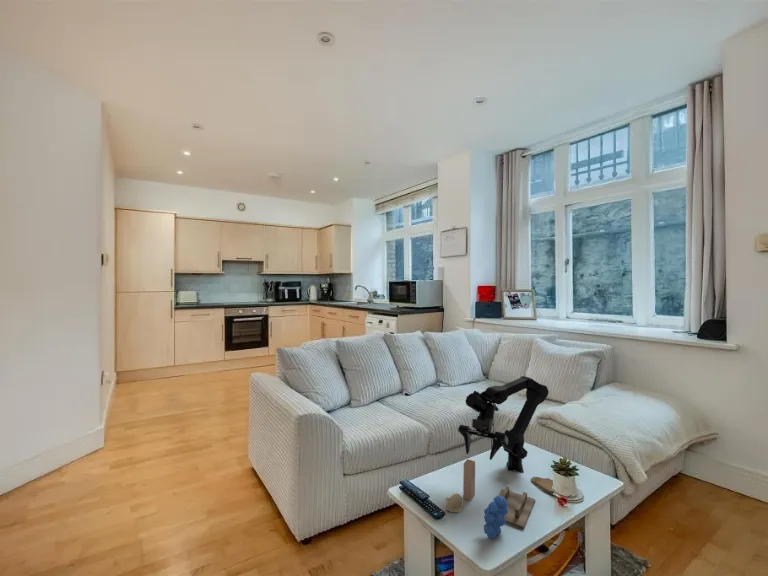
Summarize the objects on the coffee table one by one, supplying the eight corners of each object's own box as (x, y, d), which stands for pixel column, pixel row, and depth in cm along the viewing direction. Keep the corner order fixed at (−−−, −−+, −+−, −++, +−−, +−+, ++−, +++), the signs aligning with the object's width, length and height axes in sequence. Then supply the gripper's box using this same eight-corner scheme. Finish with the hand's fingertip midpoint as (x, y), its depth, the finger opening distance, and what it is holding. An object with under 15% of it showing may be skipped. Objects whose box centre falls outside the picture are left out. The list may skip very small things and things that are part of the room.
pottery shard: (526, 487, 146) (564, 501, 135) (525, 480, 146) (564, 494, 135) (536, 480, 151) (574, 493, 140) (536, 474, 152) (573, 486, 140)
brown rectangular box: (463, 498, 136) (463, 463, 136) (467, 492, 139) (467, 459, 139) (470, 500, 134) (471, 465, 134) (474, 495, 138) (475, 461, 137)
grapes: (494, 520, 124) (494, 485, 123) (512, 530, 119) (513, 494, 118) (473, 535, 116) (474, 498, 116) (492, 547, 111) (492, 508, 111)
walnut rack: (502, 491, 141) (502, 480, 141) (535, 501, 134) (535, 491, 134) (487, 516, 126) (487, 504, 126) (523, 529, 119) (523, 517, 119)
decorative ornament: (466, 508, 130) (466, 494, 130) (448, 516, 126) (448, 501, 125) (458, 502, 133) (458, 488, 133) (440, 509, 129) (440, 495, 129)
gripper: (458, 405, 149) (448, 444, 141) (504, 413, 138) (497, 455, 130) (466, 416, 156) (458, 453, 148) (511, 424, 145) (505, 465, 137)
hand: (478, 456), depth 141 cm, fingers open, 9 cm apart
